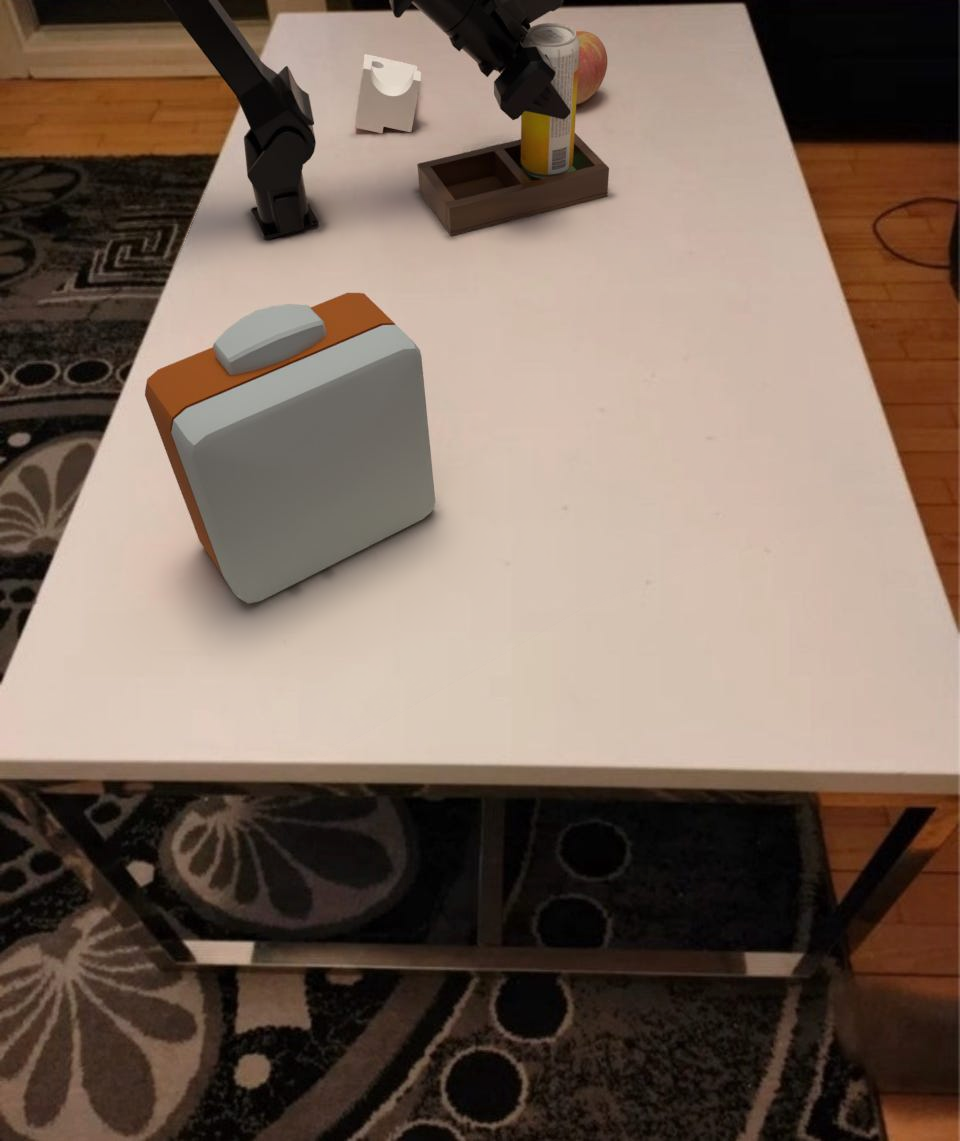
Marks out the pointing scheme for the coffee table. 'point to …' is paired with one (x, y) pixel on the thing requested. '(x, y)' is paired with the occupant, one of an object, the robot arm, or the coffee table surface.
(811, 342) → the coffee table surface
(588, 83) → the apple
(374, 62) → the bracket
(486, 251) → the coffee table surface
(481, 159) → the tray
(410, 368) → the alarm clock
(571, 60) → the beer can
